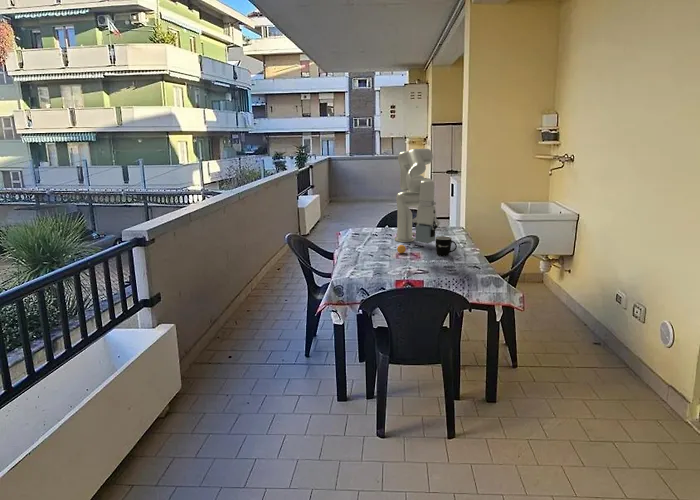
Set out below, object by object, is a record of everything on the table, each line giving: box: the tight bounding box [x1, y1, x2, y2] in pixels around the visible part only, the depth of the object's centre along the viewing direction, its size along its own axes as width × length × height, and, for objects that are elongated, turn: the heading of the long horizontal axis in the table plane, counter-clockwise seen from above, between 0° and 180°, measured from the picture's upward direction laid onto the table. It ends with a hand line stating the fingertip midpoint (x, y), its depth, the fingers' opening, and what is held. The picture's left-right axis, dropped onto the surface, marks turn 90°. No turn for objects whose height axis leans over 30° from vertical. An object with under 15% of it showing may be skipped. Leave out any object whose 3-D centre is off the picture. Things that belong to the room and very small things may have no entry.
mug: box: [435, 235, 458, 257], centre depth 286 cm, size 12×9×10 cm
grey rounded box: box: [415, 224, 436, 244], centre depth 271 cm, size 8×8×9 cm
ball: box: [396, 244, 407, 254], centre depth 292 cm, size 5×5×5 cm
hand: (425, 235), depth 272 cm, fingers closed on grey rounded box, 7 cm apart
